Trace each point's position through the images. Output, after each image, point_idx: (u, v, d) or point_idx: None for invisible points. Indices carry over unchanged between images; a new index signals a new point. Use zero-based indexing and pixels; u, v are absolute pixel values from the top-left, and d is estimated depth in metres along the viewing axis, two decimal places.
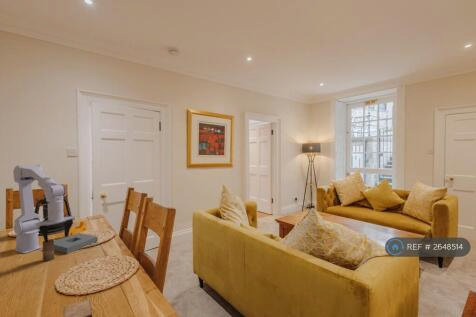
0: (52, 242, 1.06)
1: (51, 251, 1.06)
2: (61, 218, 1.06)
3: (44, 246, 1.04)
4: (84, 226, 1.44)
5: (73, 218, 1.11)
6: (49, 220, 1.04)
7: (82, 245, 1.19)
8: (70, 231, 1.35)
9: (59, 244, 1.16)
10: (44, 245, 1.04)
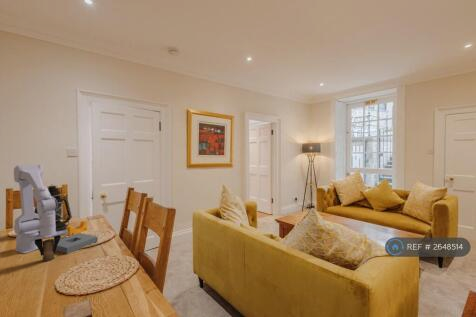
0: (52, 242, 1.06)
1: (51, 251, 1.06)
2: (51, 233, 1.05)
3: (44, 246, 1.04)
4: (85, 226, 1.44)
5: (65, 233, 1.09)
6: (40, 235, 1.04)
7: (82, 245, 1.19)
8: (71, 231, 1.35)
9: (59, 244, 1.16)
10: (44, 245, 1.04)
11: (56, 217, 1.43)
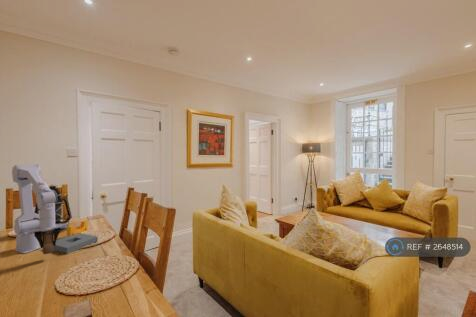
0: (52, 235, 1.06)
1: (51, 244, 1.06)
2: (51, 225, 1.05)
3: (44, 238, 1.04)
4: (85, 226, 1.44)
5: (65, 226, 1.09)
6: (40, 227, 1.04)
7: (82, 245, 1.19)
8: (72, 231, 1.35)
9: (59, 244, 1.16)
10: (44, 237, 1.04)
11: (56, 217, 1.43)
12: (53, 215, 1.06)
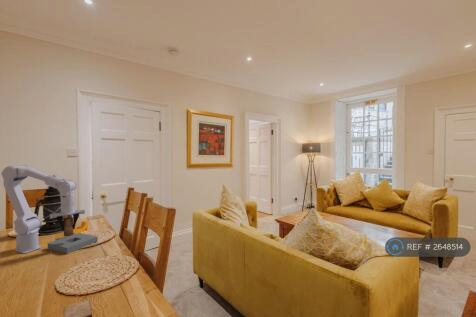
0: (72, 219, 1.19)
1: (70, 227, 1.18)
2: (71, 211, 1.18)
3: (64, 222, 1.17)
4: (86, 226, 1.44)
5: (83, 212, 1.22)
6: (61, 212, 1.16)
7: (82, 245, 1.19)
8: None
9: (59, 244, 1.16)
10: (64, 222, 1.17)
11: (56, 217, 1.43)
12: None
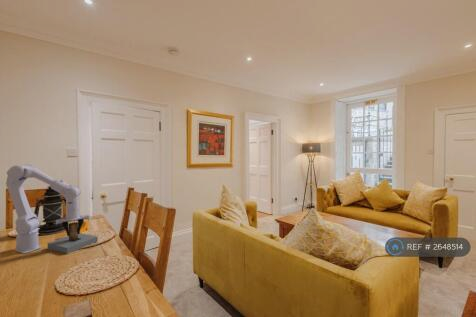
0: (77, 225, 1.22)
1: (75, 232, 1.22)
2: (76, 217, 1.21)
3: (70, 228, 1.20)
4: (86, 226, 1.44)
5: (87, 217, 1.25)
6: (66, 218, 1.20)
7: (82, 245, 1.19)
8: None
9: (59, 244, 1.16)
10: (70, 227, 1.20)
11: (56, 217, 1.43)
12: None
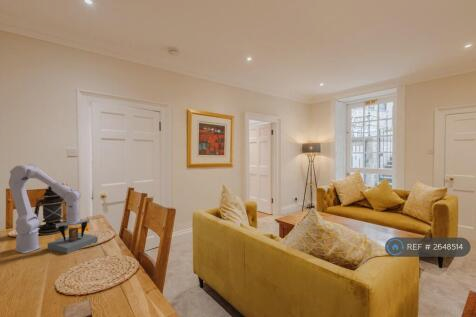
0: (77, 230, 1.22)
1: (76, 238, 1.22)
2: (76, 220, 1.21)
3: (70, 233, 1.20)
4: (87, 226, 1.44)
5: (88, 221, 1.26)
6: (66, 221, 1.20)
7: (82, 245, 1.19)
8: None
9: (59, 244, 1.16)
10: (70, 232, 1.20)
11: (56, 217, 1.43)
12: None
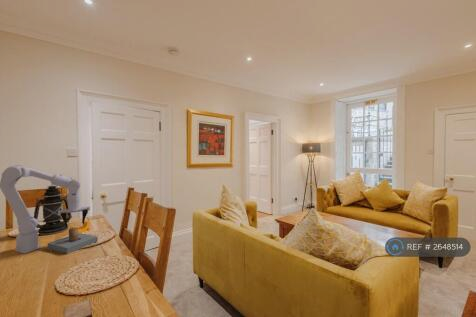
0: (77, 230, 1.22)
1: (76, 238, 1.22)
2: (77, 208, 1.27)
3: (70, 233, 1.20)
4: (88, 226, 1.44)
5: (88, 208, 1.31)
6: (68, 208, 1.25)
7: (82, 245, 1.19)
8: None
9: (59, 244, 1.16)
10: (70, 233, 1.20)
11: (56, 217, 1.43)
12: None
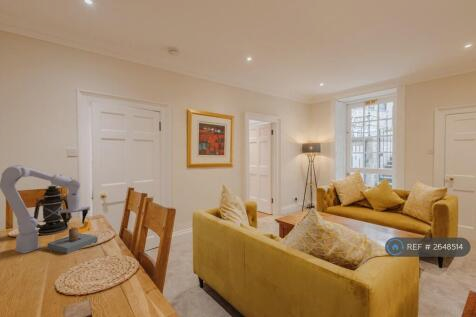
0: (77, 230, 1.22)
1: (76, 238, 1.22)
2: (77, 208, 1.27)
3: (70, 233, 1.20)
4: (88, 226, 1.44)
5: (88, 208, 1.31)
6: (68, 208, 1.25)
7: (82, 245, 1.19)
8: None
9: (59, 244, 1.16)
10: (70, 232, 1.20)
11: (56, 217, 1.43)
12: None
